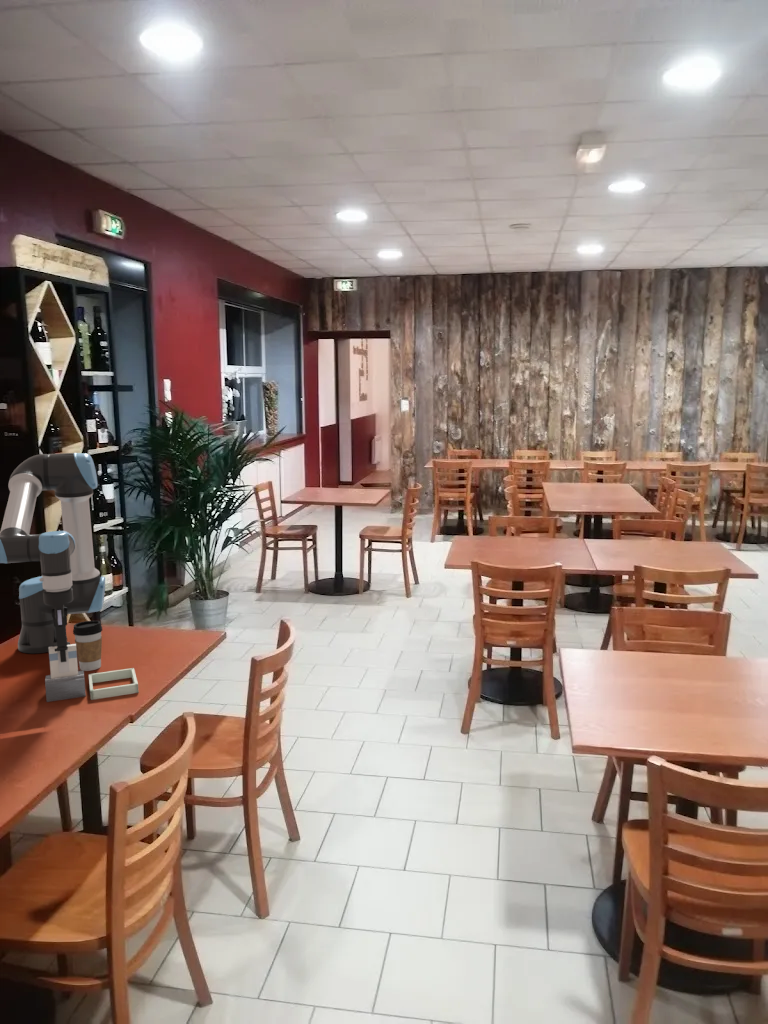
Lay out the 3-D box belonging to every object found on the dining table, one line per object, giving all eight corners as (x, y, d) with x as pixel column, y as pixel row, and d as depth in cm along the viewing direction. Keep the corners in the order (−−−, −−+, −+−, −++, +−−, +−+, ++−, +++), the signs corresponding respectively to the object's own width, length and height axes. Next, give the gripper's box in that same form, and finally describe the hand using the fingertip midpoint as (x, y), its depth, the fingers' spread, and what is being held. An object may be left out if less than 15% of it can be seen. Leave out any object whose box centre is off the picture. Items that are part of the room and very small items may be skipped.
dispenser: (47, 695, 219) (45, 673, 218) (85, 690, 223) (83, 668, 222) (46, 705, 213) (45, 682, 212) (86, 699, 217) (84, 676, 216)
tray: (89, 685, 227) (88, 674, 226) (134, 679, 231) (133, 667, 231) (91, 703, 214) (90, 691, 214) (138, 695, 219) (138, 684, 218)
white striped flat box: (52, 695, 217) (48, 647, 215) (79, 691, 220) (75, 643, 218) (52, 697, 216) (48, 648, 214) (79, 693, 218) (76, 645, 216)
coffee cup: (95, 676, 234) (92, 628, 232) (70, 674, 236) (66, 626, 233) (110, 666, 242) (107, 619, 240) (86, 664, 244) (82, 618, 241)
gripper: (43, 583, 218) (50, 663, 222) (42, 596, 205) (49, 681, 209) (72, 580, 221) (78, 660, 225) (72, 593, 208) (79, 677, 211)
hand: (64, 670), depth 217 cm, fingers closed on white striped flat box, 2 cm apart
